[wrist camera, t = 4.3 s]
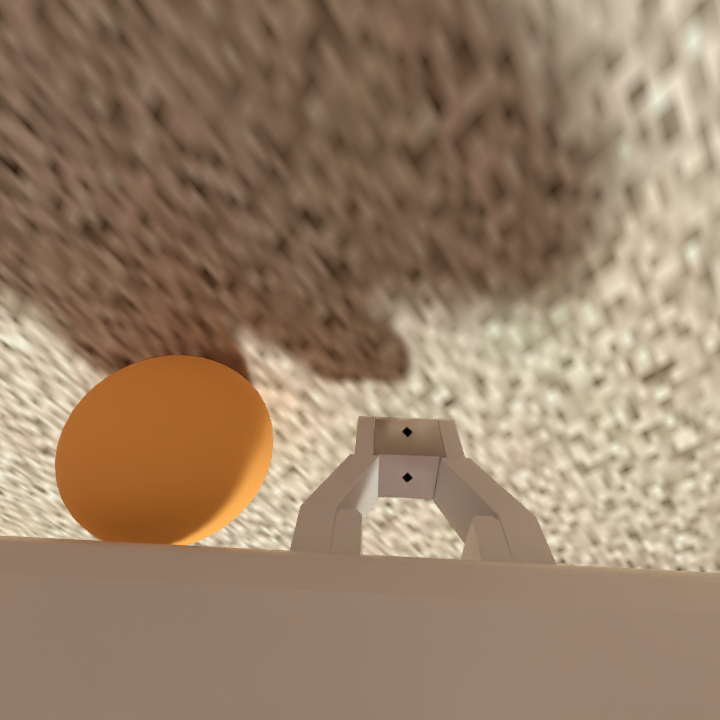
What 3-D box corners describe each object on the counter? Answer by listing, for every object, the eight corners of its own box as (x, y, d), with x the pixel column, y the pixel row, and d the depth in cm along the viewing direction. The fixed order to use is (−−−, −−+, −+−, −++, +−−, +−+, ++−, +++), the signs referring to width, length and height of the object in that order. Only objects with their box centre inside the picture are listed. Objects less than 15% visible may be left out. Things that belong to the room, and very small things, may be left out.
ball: (118, 321, 11) (-78, 444, 6) (281, 326, 11) (203, 457, 6) (169, 440, 14) (59, 585, 9) (297, 446, 14) (253, 598, 9)
